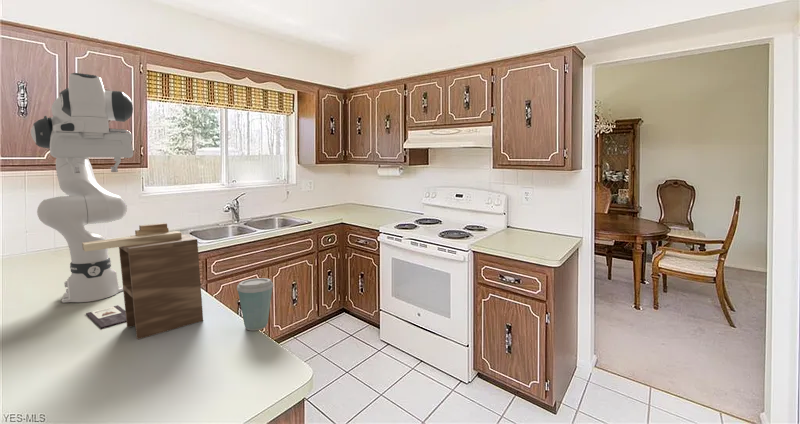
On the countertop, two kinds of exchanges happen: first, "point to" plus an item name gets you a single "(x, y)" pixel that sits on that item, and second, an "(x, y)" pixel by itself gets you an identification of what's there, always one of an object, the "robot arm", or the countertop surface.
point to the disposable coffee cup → (255, 302)
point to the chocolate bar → (108, 316)
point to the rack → (161, 283)
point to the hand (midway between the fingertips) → (96, 172)
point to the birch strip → (130, 241)
